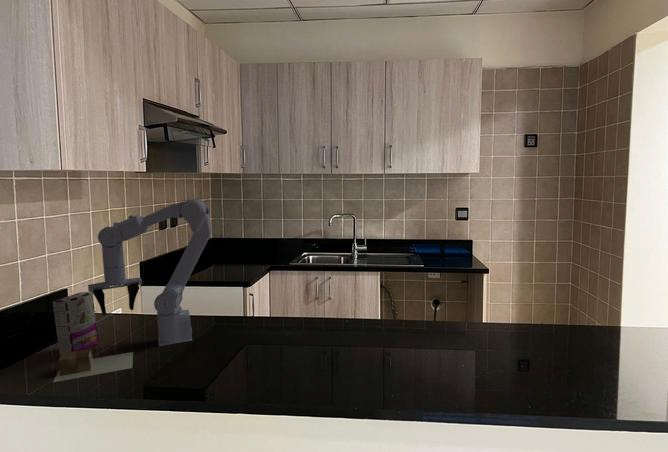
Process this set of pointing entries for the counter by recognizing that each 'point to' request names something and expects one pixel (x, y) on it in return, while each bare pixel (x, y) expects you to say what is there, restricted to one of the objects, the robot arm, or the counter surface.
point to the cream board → (102, 366)
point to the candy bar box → (75, 322)
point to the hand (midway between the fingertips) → (118, 311)
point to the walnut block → (75, 362)
